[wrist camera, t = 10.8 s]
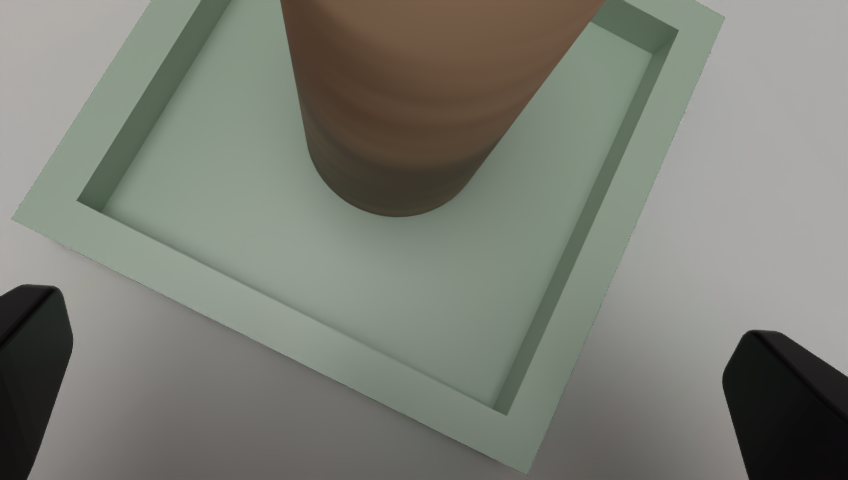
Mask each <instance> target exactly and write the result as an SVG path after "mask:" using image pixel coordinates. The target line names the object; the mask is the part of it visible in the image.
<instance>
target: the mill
mask: <svg viewBox="0 0 848 480" xmlns="http://www.w3.org/2000/svg"><path fill="white" fill-rule="evenodd" d="M605 1H606V0H280V3H281V8H282V14H283V19H284V24H285V30H286V35H287V40H288V46H289V51H290V56H291V62H292V67H293V72H294V78H295V83H296V88H297V94H298V99H299V104H300V110H301V115H302V120H303V126H304V131H305V136H306V142H307V147H308V151H309V154H310V157H311V160H312V162H313V164H314V166H315V168H316V170H317V172H318V173H319V175H320V176H321V178H322V179H323V181H324V182H325V183H326V184H327V185H328V187H329V188H330V189H331V190H332V191H333V192H334V193H336V194H337V195H338V196H339V197H340V198H342V199H343V200H345V201H346V202H348V203H349V204H351V205H353V206H355V207H357V208H359V209H361V210H363V211H366V212H369V213H372V214H376V215H381V216H388V217H409V216H414V215H420V214H423V213H426V212H429V211H432V210H434V209H436V208H438V207H440V206H442V205H444V204H445V203H447V202H448V201H450V200H451V199H453V198H454V197H455V196H456V195H457V194H458V193H460V191H461V190H462V189H463V188H464V187H465V186H466V185H467V184H468V182H469V181H470V180H471V178H472V177H473V176H474V174H475V173H476V172H477V170H478V169H479V168H480V166H481V165H482V164H483V162H484V161H485V160H486V158H487V157H488V156H489V154H490V153H491V152H492V150H493V149H494V148H495V146H496V145H497V144H498V143H499V141H500V140H501V139H502V137H503V136H504V135H505V133H506V132H507V131H508V129H509V128H510V127H511V125H512V124H513V123H514V121H515V120H516V119H517V117H518V116H519V115H520V113H521V112H522V111H523V109H524V108H525V107H526V105H527V104H528V103H529V102H530V100H531V99H532V98H533V96H534V95H535V94H536V92H537V91H538V90H539V88H540V87H541V86H542V84H543V83H544V82H545V80H546V79H547V78H548V76H549V75H550V74H551V72H552V71H553V70H554V68H555V67H556V66H557V64H558V63H559V62H560V61H561V59H562V58H563V57H564V55H565V54H566V53H567V51H568V50H569V49H570V47H571V46H572V45H573V43H574V42H575V41H576V39H577V38H578V37H579V35H580V34H581V33H582V31H583V30H584V29H585V27H586V26H587V25H588V23H589V22H590V21H591V20H592V18H593V17H594V16H595V14H596V13H597V12H598V10H599V9H600V8H601V6H602V5H603V4H604V2H605Z"/></svg>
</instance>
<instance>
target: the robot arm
mask: <svg viewBox="0 0 848 480" xmlns="http://www.w3.org/2000/svg"><path fill="white" fill-rule="evenodd" d="M72 348H73V334H72V330H71V325H70V321H69V317H68V313H67V309H66V305H65V301H64V297H63V294H62V292H61V291H60V289H58V288H57V287H55V286H48V285H32V284H26V285H20V286H18V287H16V288H14V289H12V290H11V291H9V292H7V293H5V294H4V295H2V296H0V480H27V478H28V476H29V474H30V471H31V469H32V467H33V464H34V462H35V459H36V456H37V454H38V451H39V448H40V445H41V442H42V440H43V437H44V434H45V431H46V428H47V425H48V422H49V419H50V416H51V413H52V410H53V407H54V404H55V401H56V398H57V395H58V392H59V389H60V386H61V383H62V380H63V377H64V374H65V371H66V368H67V365H68V362H69V359H70V356H71V353H72ZM722 384H723V390H724V394H725V397H726V401H727V404H728V408H729V411H730V415H731V419H732V422H733V426H734V429H735V433H736V436H737V440H738V443H739V447H740V450H741V454H742V457H743V461H744V464H745V468H746V472H747V475H748V478H749V480H848V377H847V376H846V375H844V374H843V373H841V372H840V371H838V370H837V369H835V368H834V367H832V366H831V365H829V364H828V363H826V362H825V361H823V360H822V359H820V358H819V357H817V356H816V355H814V354H813V353H811V352H810V351H808V350H807V349H805V348H804V347H802V346H801V345H799V344H798V343H796V342H795V341H793V340H792V339H790V338H789V337H787V336H786V335H784V334H782V333H780V332H777V331H767V330H750V331H748V332H746V333H745V334H744V335H743V336H742V338H741V340H740V342H739V343H738V345H737V347H736V349H735V351H734V353H733V355H732V356H731V358H730V360H729V362H728V364H727V366H726V368H725V370H724V373H723V378H722Z"/></svg>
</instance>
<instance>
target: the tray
mask: <svg viewBox="0 0 848 480" xmlns="http://www.w3.org/2000/svg"><path fill="white" fill-rule="evenodd" d="M724 19H725V17H724V16H722V15H720V14H719V13H717V12H715V11H713V10H711V9H709V8H707V7H705V6H704V5H702V4H700V3H698V2H696V1H694V0H606V1H605V2H604V4H603V5H602V6H601V8H600V9H599V10H598V12H597V13H596V14H595V16H594V17H593V18H592V20H591V21H590V22H589V23H588V25H587V26H586V27H585V29H584V30H583V31H582V33H581V34H580V35H579V37H578V38H577V39H576V41H575V42H574V43H573V45H572V46H571V47H570V49H569V50H568V51H567V53H566V54H565V55H564V57H563V58H562V59H561V61H560V62H559V63H558V64H557V66H556V67H555V68H554V70H553V71H552V72H551V74H550V75H549V76H548V78H547V79H546V80H545V82H544V83H543V84H542V86H541V87H540V88H539V90H538V91H537V92H536V94H535V95H534V96H533V98H532V99H531V100H530V102H529V103H528V104H527V105H526V107H525V108H524V109H523V111H522V112H521V113H520V115H519V116H518V117H517V119H516V120H515V121H514V123H513V124H512V125H511V127H510V128H509V129H508V131H507V132H506V133H505V135H504V136H503V137H502V139H501V140H500V141H499V143H498V144H497V145H496V146H495V148H494V149H493V150H492V152H491V153H490V154H489V156H488V157H487V158H486V160H485V161H484V162H483V164H482V165H481V166H480V168H479V169H478V170H477V172H476V173H475V174H474V176H473V177H472V178H471V180H470V181H469V182H468V184H467V185H466V186H465V187H464V188H463V189H462V190H461V191H460V193H458V194H457V195H456V196H455V197H454V198H453V199H451V200H450V201H448V202H447V203H445V204H444V205H442V206H440V207H438V208H436V209H434V210H432V211H429V212H426V213H423V214H420V215H414V216H409V217H388V216H381V215H376V214H372V213H369V212H366V211H363V210H361V209H359V208H357V207H355V206H353V205H351V204H349V203H348V202H346V201H345V200H343V199H342V198H340V197H339V196H338V195H337V194H336V193H334V192H333V191H332V190H331V189H330V188H329V187H328V185H327V184H326V183H325V182H324V181H323V179H322V178H321V176H320V175H319V173H318V172H317V170H316V168H315V166H314V164H313V162H312V160H311V157H310V154H309V151H308V147H307V142H306V136H305V131H304V126H303V120H302V115H301V110H300V104H299V99H298V94H297V88H296V83H295V78H294V72H293V67H292V62H291V56H290V51H289V46H288V40H287V35H286V30H285V24H284V19H283V14H282V8H281V3H280V0H151V2H150V3H149V5H148V7H147V8H146V10H145V11H144V13H143V14H142V16H141V17H140V19H139V21H138V22H137V24H136V25H135V27H134V28H133V30H132V31H131V33H130V35H129V36H128V38H127V39H126V41H125V42H124V44H123V45H122V47H121V49H120V50H119V52H118V53H117V55H116V56H115V58H114V60H113V61H112V63H111V64H110V66H109V67H108V69H107V70H106V72H105V74H104V75H103V77H102V78H101V80H100V81H99V83H98V84H97V86H96V88H95V89H94V91H93V92H92V94H91V95H90V97H89V98H88V100H87V102H86V103H85V105H84V106H83V108H82V109H81V111H80V112H79V114H78V116H77V117H76V119H75V120H74V122H73V123H72V125H71V126H70V128H69V130H68V131H67V133H66V134H65V136H64V137H63V139H62V141H61V142H60V144H59V145H58V147H57V148H56V150H55V151H54V153H53V155H52V156H51V158H50V159H49V161H48V162H47V164H46V165H45V167H44V169H43V170H42V172H41V173H40V175H39V176H38V178H37V179H36V181H35V183H34V184H33V186H32V187H31V189H30V190H29V192H28V193H27V195H26V197H25V198H24V200H23V201H22V203H21V204H20V206H19V208H18V209H17V211H16V212H15V214H14V215H13V217H12V218H11V219H12V220H14V221H16V222H18V223H20V224H22V225H24V226H26V227H28V228H30V229H32V230H34V231H36V232H38V233H40V234H42V235H44V236H46V237H48V238H50V239H52V240H54V241H56V242H58V243H60V244H62V245H64V246H66V247H68V248H70V249H72V250H74V251H76V252H78V253H80V254H82V255H84V256H86V257H88V258H90V259H92V260H94V261H96V262H98V263H100V264H102V265H104V266H106V267H108V268H110V269H112V270H114V271H116V272H118V273H120V274H122V275H124V276H126V277H128V278H130V279H132V280H134V281H136V282H138V283H140V284H142V285H144V286H146V287H148V288H150V289H152V290H154V291H156V292H158V293H160V294H162V295H164V296H166V297H169V298H171V299H173V300H175V301H177V302H179V303H181V304H183V305H185V306H187V307H189V308H191V309H193V310H195V311H197V312H199V313H201V314H203V315H205V316H207V317H209V318H211V319H213V320H215V321H217V322H219V323H221V324H223V325H225V326H227V327H229V328H231V329H233V330H235V331H237V332H239V333H241V334H243V335H245V336H247V337H249V338H251V339H253V340H255V341H257V342H259V343H261V344H263V345H265V346H267V347H269V348H271V349H273V350H275V351H277V352H279V353H281V354H283V355H285V356H287V357H289V358H291V359H293V360H295V361H297V362H299V363H301V364H303V365H305V366H307V367H309V368H311V369H313V370H315V371H317V372H319V373H321V374H323V375H325V376H327V377H329V378H331V379H334V380H336V381H338V382H340V383H342V384H344V385H346V386H348V387H350V388H352V389H354V390H356V391H358V392H360V393H362V394H364V395H366V396H368V397H370V398H372V399H374V400H376V401H378V402H380V403H382V404H384V405H386V406H388V407H390V408H392V409H394V410H396V411H398V412H400V413H402V414H404V415H406V416H408V417H410V418H412V419H414V420H416V421H418V422H420V423H422V424H424V425H426V426H428V427H430V428H432V429H434V430H436V431H438V432H440V433H442V434H444V435H446V436H448V437H450V438H452V439H454V440H456V441H458V442H460V443H462V444H464V445H466V446H468V447H470V448H472V449H474V450H476V451H478V452H480V453H482V454H484V455H486V456H488V457H490V458H492V459H494V460H496V461H498V462H501V463H503V464H505V465H507V466H509V467H511V468H513V469H515V470H517V471H519V472H521V473H523V474H525V475H528V473H529V471H530V469H531V466H532V464H533V462H534V459H535V457H536V455H537V452H538V450H539V448H540V445H541V443H542V441H543V438H544V436H545V434H546V431H547V429H548V427H549V425H550V422H551V420H552V418H553V415H554V413H555V411H556V408H557V406H558V404H559V401H560V399H561V397H562V394H563V392H564V390H565V387H566V385H567V383H568V380H569V378H570V376H571V374H572V371H573V369H574V367H575V364H576V362H577V360H578V357H579V355H580V353H581V350H582V348H583V346H584V343H585V341H586V339H587V336H588V334H589V332H590V329H591V327H592V325H593V323H594V320H595V318H596V316H597V313H598V311H599V309H600V306H601V304H602V302H603V299H604V297H605V295H606V292H607V290H608V288H609V285H610V283H611V281H612V278H613V276H614V274H615V272H616V269H617V267H618V265H619V262H620V260H621V258H622V255H623V253H624V251H625V248H626V246H627V244H628V241H629V239H630V237H631V234H632V232H633V230H634V227H635V225H636V223H637V221H638V218H639V216H640V214H641V211H642V209H643V207H644V204H645V202H646V200H647V197H648V195H649V193H650V190H651V188H652V186H653V183H654V181H655V179H656V177H657V174H658V172H659V170H660V167H661V165H662V163H663V160H664V158H665V156H666V153H667V151H668V149H669V146H670V144H671V142H672V139H673V137H674V135H675V132H676V130H677V128H678V126H679V123H680V121H681V119H682V116H683V114H684V112H685V109H686V107H687V105H688V102H689V100H690V98H691V95H692V93H693V91H694V88H695V86H696V84H697V81H698V79H699V77H700V75H701V72H702V70H703V68H704V65H705V63H706V61H707V58H708V56H709V54H710V51H711V49H712V47H713V44H714V42H715V40H716V37H717V35H718V33H719V30H720V28H721V26H722V24H723V21H724Z"/></svg>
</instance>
